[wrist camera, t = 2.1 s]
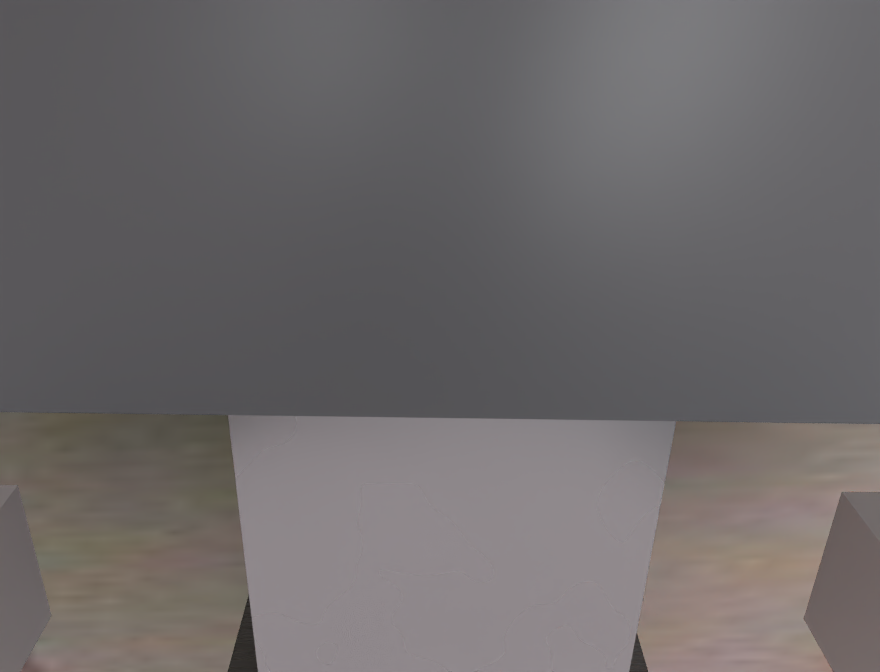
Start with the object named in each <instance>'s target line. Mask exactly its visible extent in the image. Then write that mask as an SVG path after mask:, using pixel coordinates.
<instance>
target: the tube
mask: <svg viewBox="0 0 880 672" xmlns="http://www.w3.org/2000/svg"><path fill="white" fill-rule="evenodd" d="M228 420H229V428H230V437H231V445H232V454H233V463H234V471H235V480H236V488H237V497H238V505H239V514H240V522H241V531H242V540H243V548H244V557H245V565H246V574H247V582H248V591H249V596H248V599H247V603H246V607H245V610H244V614H243V618H242V621H241V625H240V629H239V632H238V636H237V640H236V643H235V647H234V651H233V654H232V658H231V662H230V665H229V669H228V672H648V670H647V666H646V663H645V659H644V656H643V653H642V649H641V646H640V642H639V639H638V635H637V627H638V622H639V617H640V611H641V606H642V601H643V595H644V590H645V585H646V579H647V574H648V569H649V563H650V558H651V553H652V547H653V542H654V537H655V531H656V526H657V521H658V515H659V510H660V505H661V499H662V494H663V489H664V484H665V478H666V473H667V468H668V462H669V457H670V452H671V446H672V441H673V436H674V430H675V425H676V421H627V420H554V419H480V418H407V417H333V416H260V415H228Z"/></svg>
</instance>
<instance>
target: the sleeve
mask: <svg viewBox="0 0 880 672" xmlns="http://www.w3.org/2000/svg"><path fill="white" fill-rule="evenodd" d="M0 412H39V413H113V414H186V415H260V416H333V417H407V418H480V419H554V420H627V421H701V422H774V423H848V424H880V0H0Z"/></svg>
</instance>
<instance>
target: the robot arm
mask: <svg viewBox="0 0 880 672" xmlns="http://www.w3.org/2000/svg"><path fill="white" fill-rule="evenodd" d="M50 617H51V612H50V608H49V604H48V600H47V596H46V592H45V588H44V584H43V581H42V577H41V573H40V569H39V565H38V561H37V557H36V553H35V550H34V546H33V542H32V538H31V534H30V530H29V526H28V522H27V519H26V515H25V511H24V507H23V503H22V499H21V495H20V491H19V488H18V485H0V672H20V671H21V669H22V668H23V666H24V664H25V662H26V660H27V659H28V657H29V655H30V653H31V651H32V650H33V648H34V646H35V644H36V642H37V641H38V639H39V637H40V635H41V633H42V632H43V630H44V628H45V626H46V624H47V623H48V621H49V619H50ZM804 620H805V622H806V624H807V625H808V627H809V629H810V631H811V633H812V634H813V636H814V638H815V640H816V641H817V643H818V645H819V647H820V649H821V650H822V652H823V654H824V656H825V658H826V659H827V661H828V663H829V665H830V666H831V668H832V670H833V672H880V492H842V493H841V496H840V500H839V503H838V506H837V510H836V513H835V516H834V520H833V523H832V526H831V530H830V533H829V536H828V540H827V543H826V546H825V550H824V553H823V556H822V560H821V563H820V566H819V570H818V573H817V576H816V580H815V583H814V586H813V590H812V593H811V596H810V600H809V603H808V606H807V610H806V613H805V616H804Z"/></svg>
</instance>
